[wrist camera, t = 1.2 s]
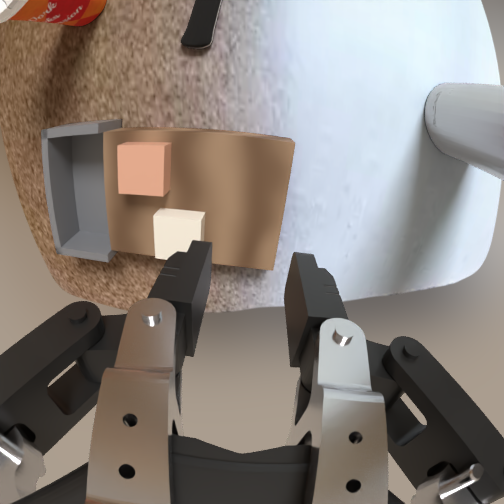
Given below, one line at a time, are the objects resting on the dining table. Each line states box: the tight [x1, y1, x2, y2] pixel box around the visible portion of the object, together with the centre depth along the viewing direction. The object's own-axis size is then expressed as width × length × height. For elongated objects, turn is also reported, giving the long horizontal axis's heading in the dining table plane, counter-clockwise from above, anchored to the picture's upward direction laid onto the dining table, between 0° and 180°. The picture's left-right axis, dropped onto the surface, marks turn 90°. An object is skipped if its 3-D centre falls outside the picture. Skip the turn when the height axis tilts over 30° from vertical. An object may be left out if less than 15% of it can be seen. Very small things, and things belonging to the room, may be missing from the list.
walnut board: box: [103, 127, 295, 270], centre depth 27 cm, size 18×13×4 cm
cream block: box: [153, 208, 205, 260], centre depth 26 cm, size 4×4×2 cm
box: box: [41, 119, 122, 262], centre depth 26 cm, size 8×15×5 cm, turn 173°
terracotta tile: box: [117, 142, 172, 197], centre depth 22 cm, size 4×4×2 cm
